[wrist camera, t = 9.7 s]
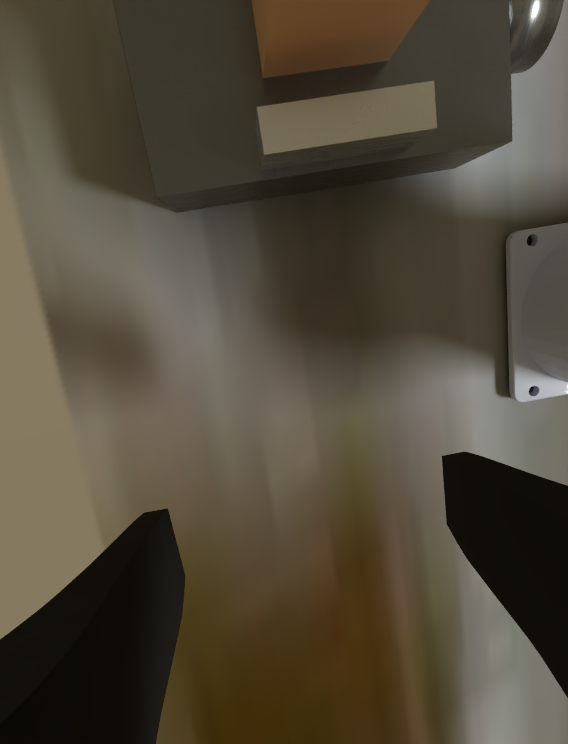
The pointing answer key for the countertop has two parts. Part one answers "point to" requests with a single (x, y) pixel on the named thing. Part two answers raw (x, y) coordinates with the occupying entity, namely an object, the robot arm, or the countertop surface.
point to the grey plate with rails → (320, 99)
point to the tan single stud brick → (329, 32)
